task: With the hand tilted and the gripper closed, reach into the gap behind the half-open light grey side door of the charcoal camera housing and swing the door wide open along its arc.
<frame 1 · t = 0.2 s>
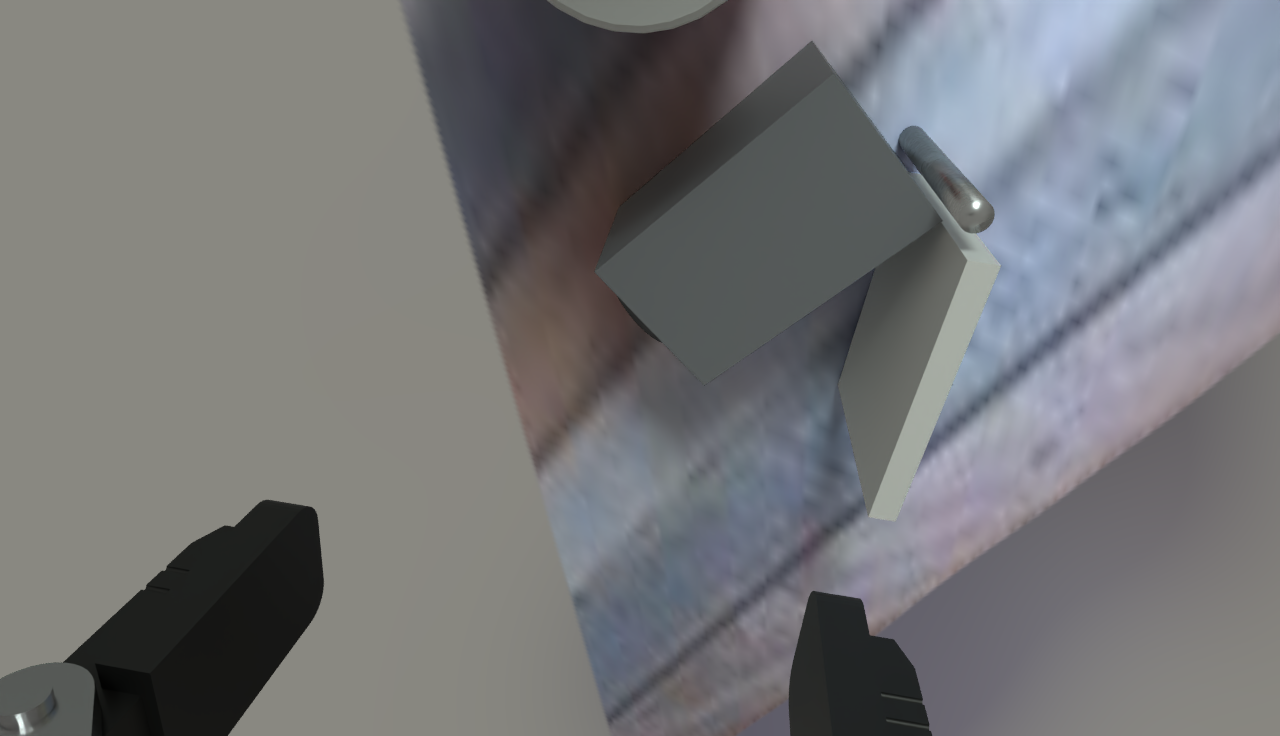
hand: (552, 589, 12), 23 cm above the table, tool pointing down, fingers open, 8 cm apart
camera housing: (905, 167, 31), on the table
side door: (911, 340, 29), point 5 cm above the table, hinge at 40.0°
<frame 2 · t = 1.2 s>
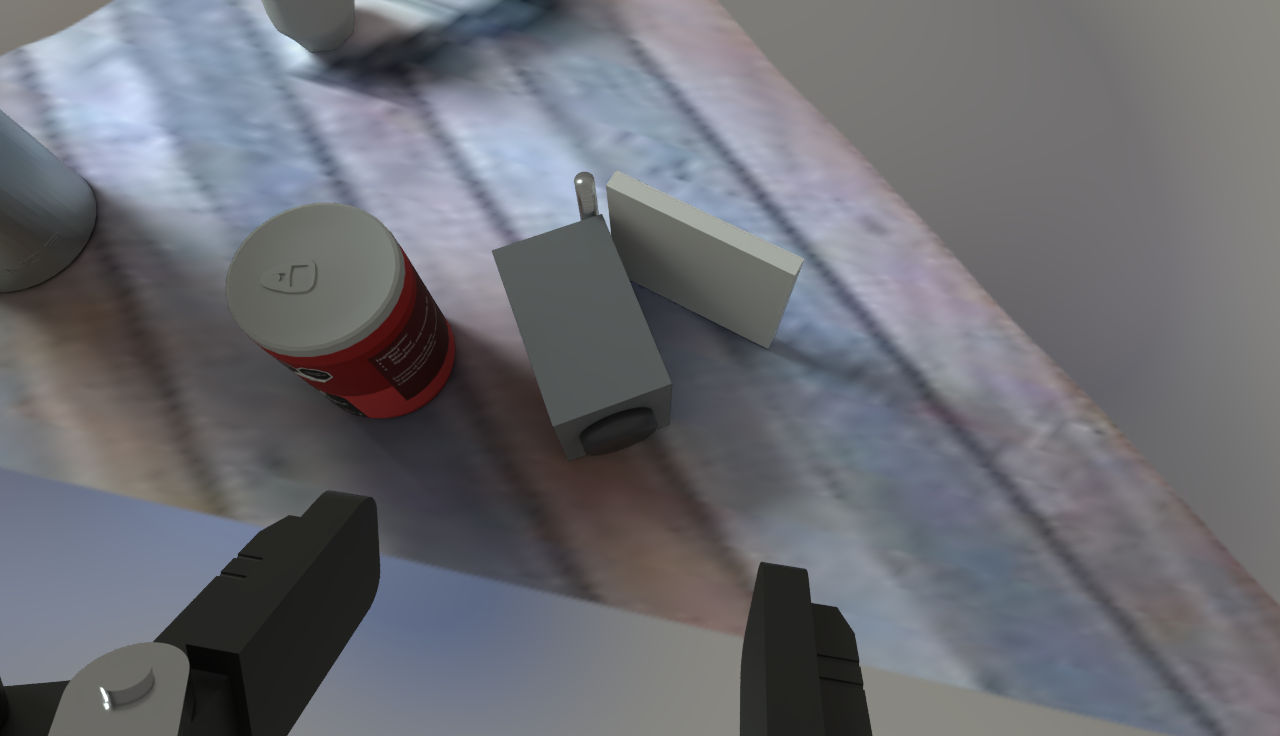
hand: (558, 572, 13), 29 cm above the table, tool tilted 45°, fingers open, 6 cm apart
salt shaker: (325, 31, 54), on the table
canned food: (392, 361, 45), on the table
camera housing: (614, 274, 46), on the table
side door: (701, 260, 41), point 5 cm above the table, hinge at 40.0°
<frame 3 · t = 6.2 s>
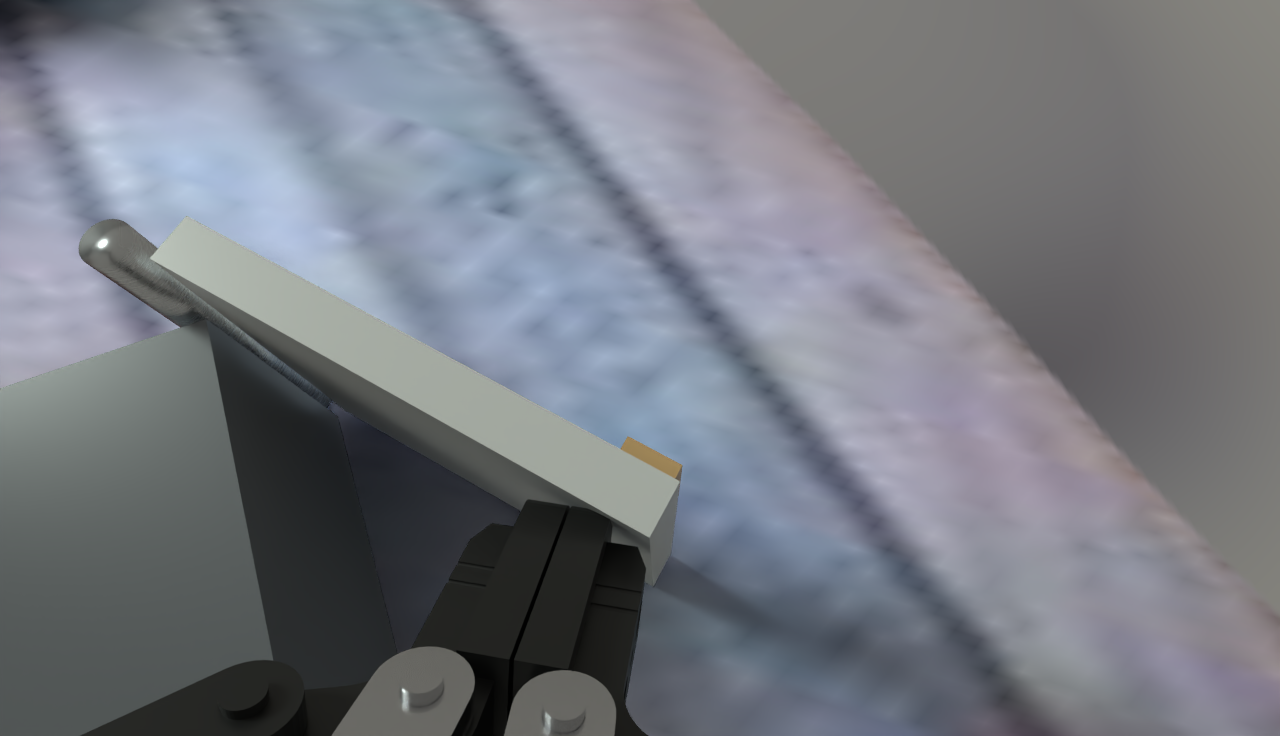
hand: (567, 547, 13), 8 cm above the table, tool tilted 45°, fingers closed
camera housing: (347, 412, 23), on the table
side door: (473, 420, 17), point 5 cm above the table, hinge at 40.0°, touching gripper
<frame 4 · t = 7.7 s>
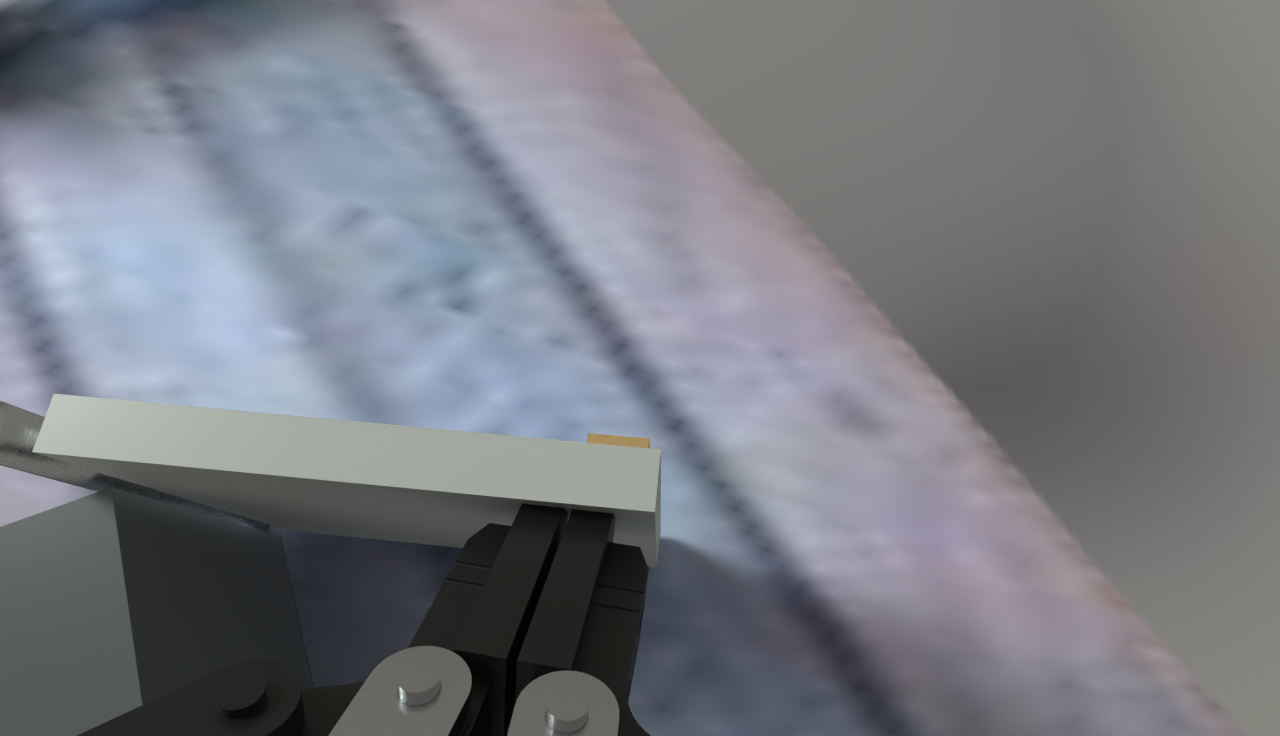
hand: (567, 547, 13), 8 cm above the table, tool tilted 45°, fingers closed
camera housing: (290, 531, 21), on the table
side door: (429, 482, 17), point 5 cm above the table, hinge at 63.4°, touching gripper
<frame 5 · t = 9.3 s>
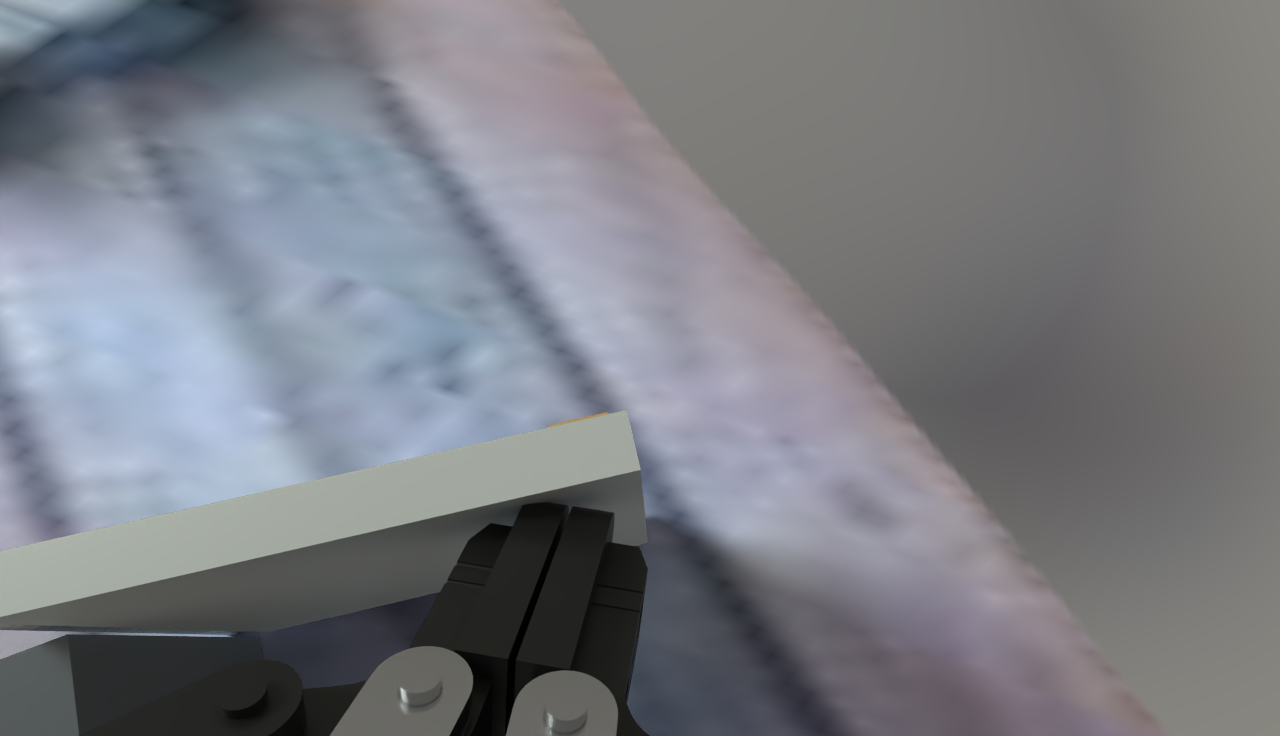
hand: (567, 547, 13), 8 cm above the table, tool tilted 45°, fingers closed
camera housing: (270, 633, 20), on the table
side door: (402, 529, 16), point 5 cm above the table, hinge at 82.0°, touching gripper
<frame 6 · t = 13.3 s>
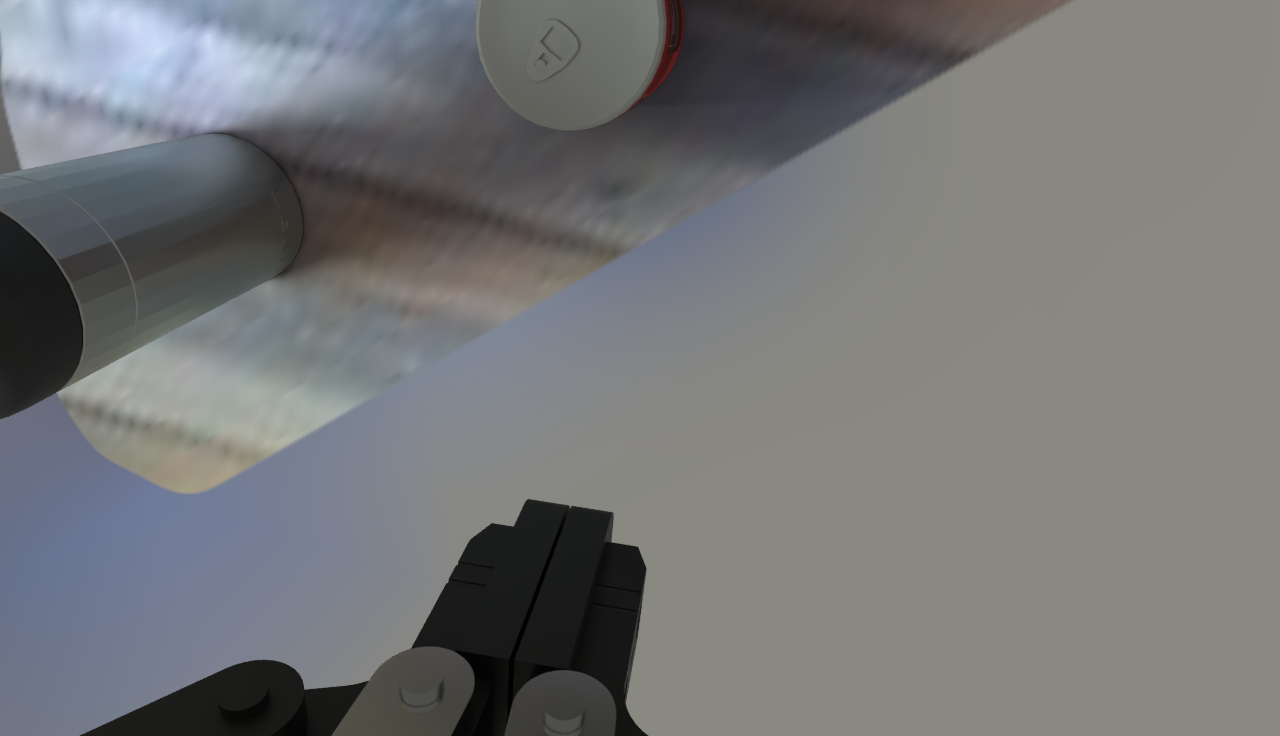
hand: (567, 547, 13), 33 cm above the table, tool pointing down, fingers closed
canned food: (612, 29, 41), on the table
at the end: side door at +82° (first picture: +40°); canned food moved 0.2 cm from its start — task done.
